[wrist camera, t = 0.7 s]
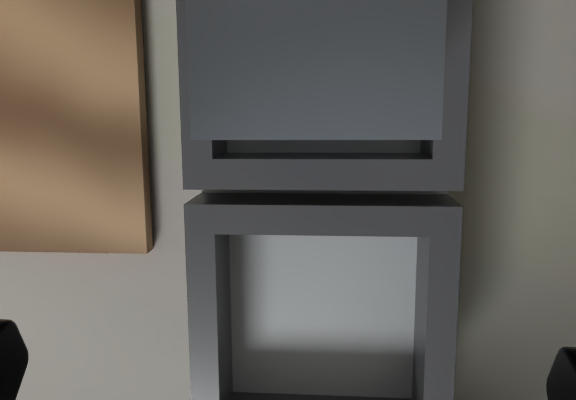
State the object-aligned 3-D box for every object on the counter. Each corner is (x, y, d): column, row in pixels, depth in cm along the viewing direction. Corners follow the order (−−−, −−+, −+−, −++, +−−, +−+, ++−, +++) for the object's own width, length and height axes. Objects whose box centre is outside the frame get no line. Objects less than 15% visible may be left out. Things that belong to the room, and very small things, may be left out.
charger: (392, 124, 20) (441, 139, 11) (253, 124, 20) (189, 140, 11) (396, -24, 19) (453, -139, 10) (251, -20, 19) (180, -129, 10)
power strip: (422, 446, 25) (446, 541, 19) (225, 437, 26) (196, 527, 20) (442, -75, 21) (479, -138, 16) (211, -68, 22) (171, -125, 16)
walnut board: (152, 248, 24) (146, 253, 23) (-82, 245, 25) (-96, 249, 24) (140, -14, 22) (133, -18, 22) (-113, -7, 23) (-128, -11, 23)
